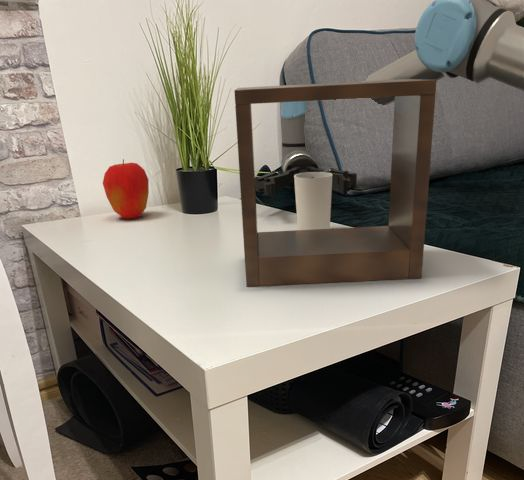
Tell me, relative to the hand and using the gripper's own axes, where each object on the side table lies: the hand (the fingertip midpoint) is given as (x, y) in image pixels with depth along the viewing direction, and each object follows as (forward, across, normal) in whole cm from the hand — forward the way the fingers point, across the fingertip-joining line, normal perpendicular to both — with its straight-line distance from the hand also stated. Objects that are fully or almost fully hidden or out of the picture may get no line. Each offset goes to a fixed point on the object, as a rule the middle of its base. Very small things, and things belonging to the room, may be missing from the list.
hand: (309, 189), depth 108 cm
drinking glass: (+7, 0, -6) cm, 10 cm away
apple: (-13, +37, -6) cm, 40 cm away
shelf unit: (+28, 0, -6) cm, 29 cm away
